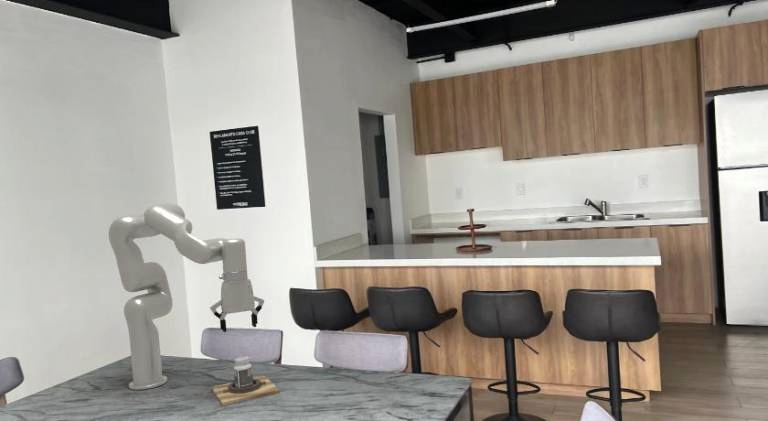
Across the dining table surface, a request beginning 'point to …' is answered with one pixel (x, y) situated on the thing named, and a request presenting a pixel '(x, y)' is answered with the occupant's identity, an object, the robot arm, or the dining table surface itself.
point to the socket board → (244, 391)
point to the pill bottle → (243, 372)
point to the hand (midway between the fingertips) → (239, 328)
